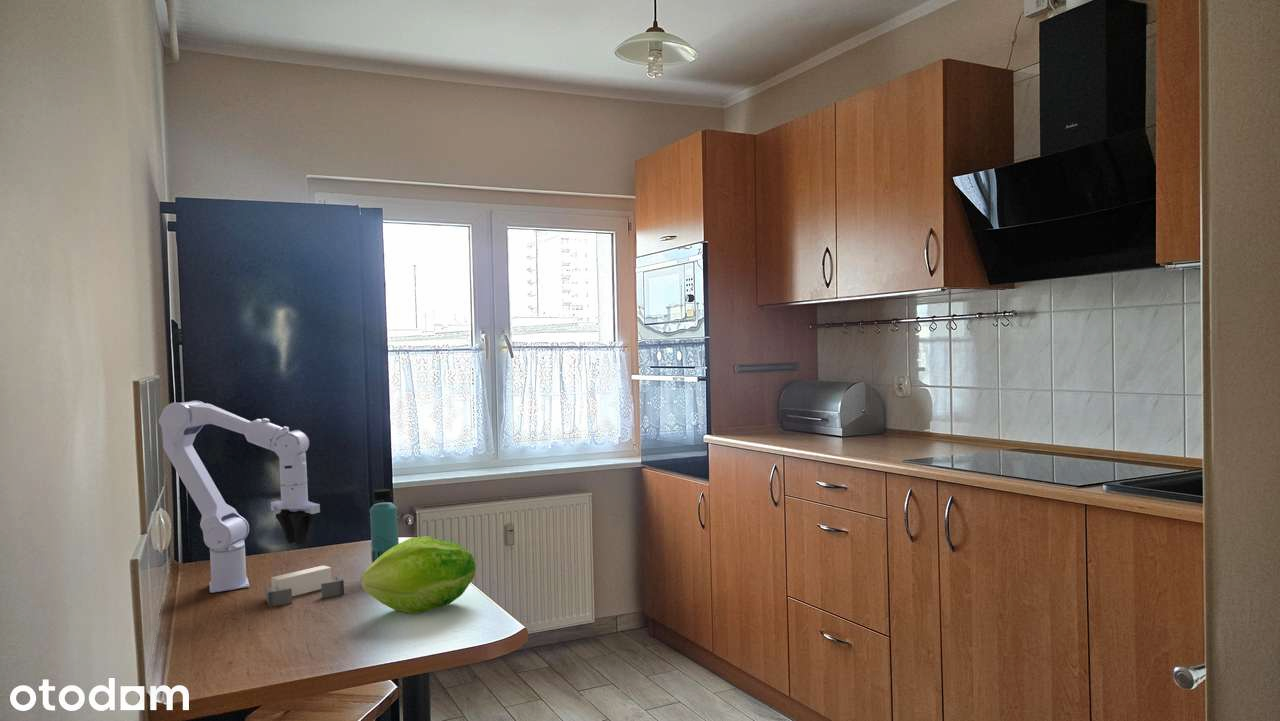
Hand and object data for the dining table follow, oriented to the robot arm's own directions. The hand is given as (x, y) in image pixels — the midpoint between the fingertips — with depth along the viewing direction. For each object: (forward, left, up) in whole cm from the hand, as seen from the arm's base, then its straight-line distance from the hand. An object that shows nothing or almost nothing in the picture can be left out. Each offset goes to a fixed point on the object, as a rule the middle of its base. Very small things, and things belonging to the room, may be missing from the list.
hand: (296, 543), depth 191 cm
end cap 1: (+13, -5, -9) cm, 17 cm away
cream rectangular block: (+8, 0, -10) cm, 12 cm away
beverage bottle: (+4, +19, -10) cm, 22 cm away
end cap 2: (+13, +5, -9) cm, 17 cm away
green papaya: (+38, +19, -10) cm, 43 cm away
